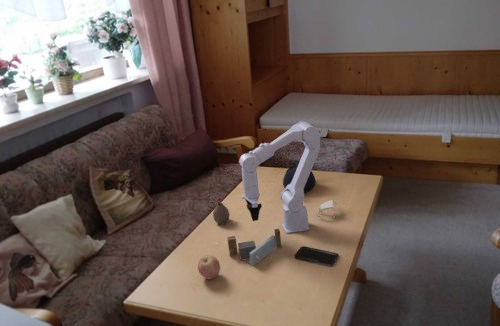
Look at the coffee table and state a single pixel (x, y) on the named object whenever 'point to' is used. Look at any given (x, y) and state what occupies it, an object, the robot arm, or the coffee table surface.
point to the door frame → (233, 245)
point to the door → (262, 250)
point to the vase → (221, 214)
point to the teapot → (290, 175)
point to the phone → (316, 256)
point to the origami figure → (327, 207)
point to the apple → (209, 267)
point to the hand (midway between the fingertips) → (253, 215)
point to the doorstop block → (246, 249)
